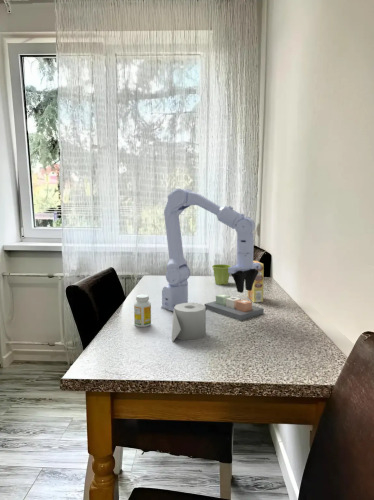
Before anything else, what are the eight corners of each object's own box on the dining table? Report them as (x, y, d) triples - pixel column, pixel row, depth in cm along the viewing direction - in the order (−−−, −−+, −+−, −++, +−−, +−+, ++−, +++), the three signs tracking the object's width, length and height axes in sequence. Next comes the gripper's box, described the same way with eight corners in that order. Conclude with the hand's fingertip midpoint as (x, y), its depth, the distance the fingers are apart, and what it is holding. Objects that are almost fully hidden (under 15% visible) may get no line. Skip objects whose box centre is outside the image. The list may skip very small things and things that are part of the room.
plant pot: (234, 282, 177) (234, 265, 176) (226, 286, 169) (226, 268, 168) (217, 280, 182) (217, 263, 181) (208, 284, 174) (208, 266, 173)
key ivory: (233, 308, 129) (233, 300, 128) (225, 306, 132) (225, 298, 131) (240, 306, 131) (240, 298, 131) (233, 304, 134) (233, 296, 134)
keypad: (240, 320, 121) (240, 315, 121) (204, 308, 135) (204, 303, 135) (263, 313, 129) (263, 308, 128) (227, 302, 142) (227, 298, 142)
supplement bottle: (134, 327, 115) (133, 298, 114) (134, 322, 120) (134, 294, 119) (151, 327, 115) (150, 297, 114) (151, 321, 121) (150, 293, 119)
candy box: (263, 302, 143) (264, 264, 141) (253, 302, 142) (254, 264, 140) (256, 296, 151) (257, 260, 149) (246, 296, 151) (247, 260, 149)
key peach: (244, 312, 125) (244, 303, 124) (236, 309, 128) (236, 301, 127) (251, 310, 127) (252, 301, 127) (243, 307, 130) (243, 299, 130)
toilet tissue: (167, 344, 101) (167, 314, 100) (179, 328, 114) (179, 301, 113) (199, 347, 99) (199, 316, 98) (207, 330, 112) (207, 303, 111)
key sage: (223, 305, 133) (223, 297, 132) (215, 303, 136) (215, 295, 135) (230, 303, 135) (230, 295, 135) (223, 301, 138) (223, 293, 138)
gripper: (239, 256, 117) (238, 296, 119) (267, 251, 126) (266, 289, 128) (223, 253, 123) (223, 292, 124) (252, 249, 132) (251, 286, 133)
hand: (244, 291), depth 127 cm, fingers open, 4 cm apart
